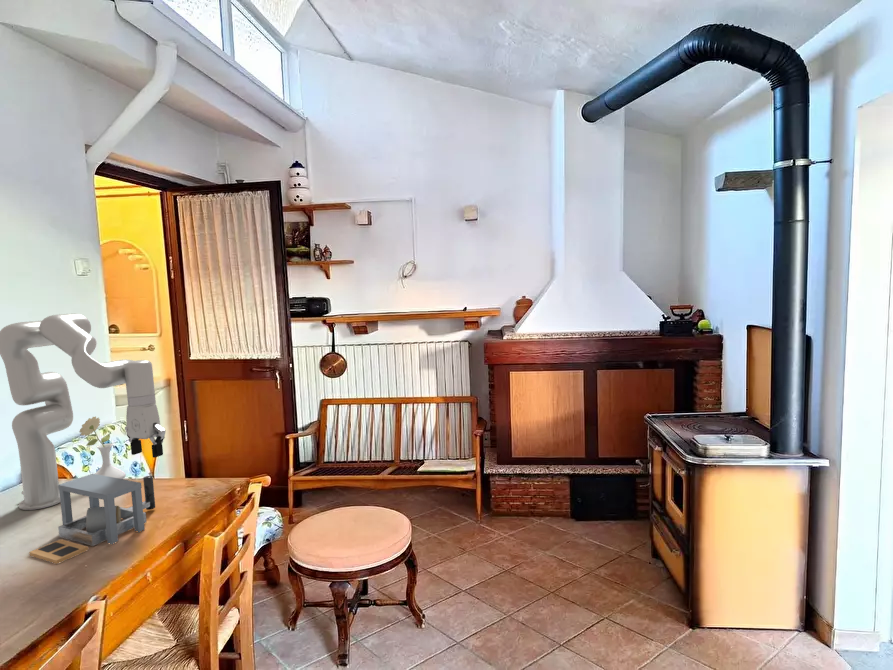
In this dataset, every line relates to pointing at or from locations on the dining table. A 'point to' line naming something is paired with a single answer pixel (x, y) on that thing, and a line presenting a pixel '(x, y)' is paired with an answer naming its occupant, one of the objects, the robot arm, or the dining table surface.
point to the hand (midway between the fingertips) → (147, 454)
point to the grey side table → (106, 491)
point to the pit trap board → (58, 551)
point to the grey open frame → (75, 532)
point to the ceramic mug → (99, 518)
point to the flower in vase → (101, 449)
